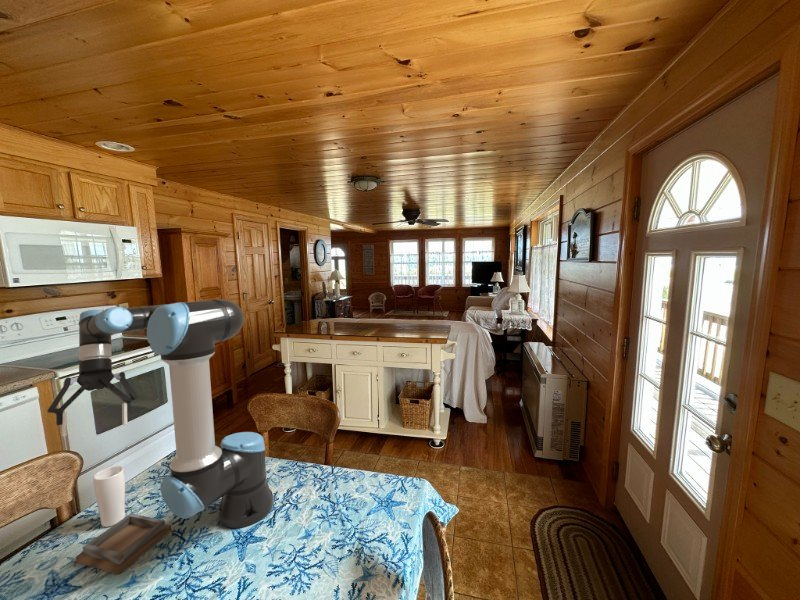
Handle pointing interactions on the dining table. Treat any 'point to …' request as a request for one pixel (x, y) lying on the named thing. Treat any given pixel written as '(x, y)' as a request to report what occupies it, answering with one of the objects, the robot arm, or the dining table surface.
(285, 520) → the dining table surface
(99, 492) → the white cup
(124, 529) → the collar board
